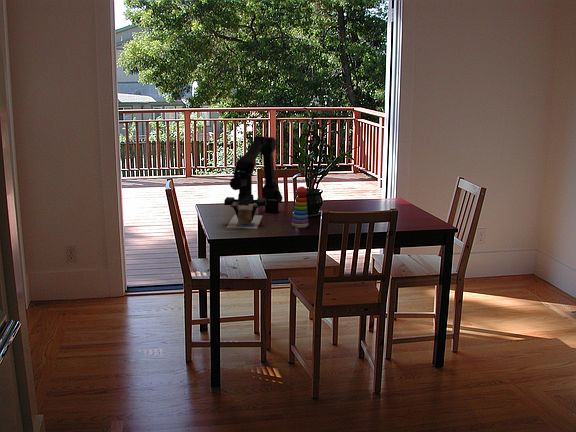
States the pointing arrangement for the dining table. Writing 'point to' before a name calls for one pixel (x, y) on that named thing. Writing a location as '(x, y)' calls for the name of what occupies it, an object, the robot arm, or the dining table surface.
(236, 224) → the build board
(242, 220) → the walnut block
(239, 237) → the dining table surface
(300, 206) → the stacking toy
